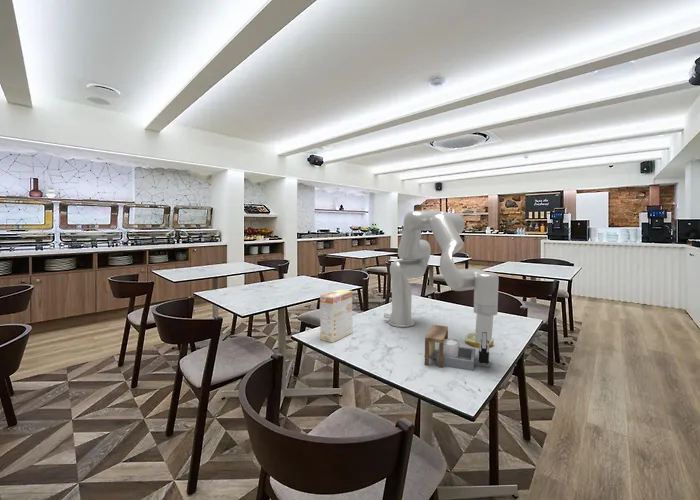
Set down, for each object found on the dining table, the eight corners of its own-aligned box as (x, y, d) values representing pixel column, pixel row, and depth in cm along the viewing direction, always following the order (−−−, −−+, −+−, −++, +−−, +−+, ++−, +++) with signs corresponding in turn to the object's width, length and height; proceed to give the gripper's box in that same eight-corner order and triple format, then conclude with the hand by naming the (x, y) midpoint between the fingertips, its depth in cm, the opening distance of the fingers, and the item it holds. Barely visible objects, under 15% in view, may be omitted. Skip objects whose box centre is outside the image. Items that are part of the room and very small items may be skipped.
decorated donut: (460, 345, 132) (460, 336, 132) (472, 338, 140) (472, 329, 139) (486, 352, 125) (486, 342, 124) (497, 344, 132) (497, 335, 132)
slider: (422, 362, 114) (422, 344, 114) (427, 350, 125) (428, 333, 125) (489, 373, 106) (490, 353, 105) (489, 358, 117) (490, 341, 116)
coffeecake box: (340, 330, 151) (340, 288, 149) (353, 333, 147) (353, 290, 145) (319, 339, 139) (319, 294, 137) (332, 343, 135) (332, 297, 133)
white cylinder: (449, 366, 112) (449, 346, 111) (435, 359, 118) (435, 340, 117) (463, 362, 115) (463, 343, 115) (448, 355, 121) (448, 337, 121)
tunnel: (424, 366, 112) (425, 337, 112) (431, 350, 126) (431, 324, 126) (442, 369, 110) (443, 339, 109) (447, 352, 124) (448, 326, 123)
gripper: (474, 301, 119) (473, 350, 121) (472, 313, 104) (470, 368, 106) (497, 303, 116) (495, 353, 118) (498, 316, 101) (495, 372, 103)
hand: (483, 360), depth 112 cm, fingers closed on slider, 3 cm apart
